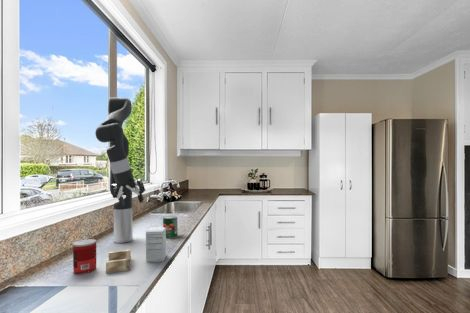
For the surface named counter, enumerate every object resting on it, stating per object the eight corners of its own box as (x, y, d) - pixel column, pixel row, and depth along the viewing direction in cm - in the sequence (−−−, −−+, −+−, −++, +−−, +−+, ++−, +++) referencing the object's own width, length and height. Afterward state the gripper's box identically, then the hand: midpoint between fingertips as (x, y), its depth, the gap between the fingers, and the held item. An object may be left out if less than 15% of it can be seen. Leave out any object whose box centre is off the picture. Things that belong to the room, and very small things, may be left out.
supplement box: (149, 256, 122) (149, 227, 122) (166, 255, 123) (166, 226, 123) (145, 262, 115) (145, 231, 115) (163, 261, 116) (163, 231, 116)
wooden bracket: (105, 273, 104) (105, 262, 104) (109, 261, 116) (109, 252, 116) (130, 269, 107) (129, 259, 107) (130, 258, 119) (130, 249, 119)
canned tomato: (163, 239, 149) (162, 218, 149) (163, 235, 156) (162, 215, 156) (178, 237, 151) (177, 217, 151) (177, 234, 158) (177, 214, 158)
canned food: (100, 267, 110) (100, 239, 110) (84, 275, 103) (83, 245, 103) (86, 265, 113) (85, 238, 113) (68, 273, 105) (68, 244, 105)
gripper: (140, 164, 122) (150, 197, 126) (110, 169, 124) (121, 202, 128) (133, 169, 115) (144, 204, 119) (101, 175, 117) (113, 209, 121)
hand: (132, 203), depth 124 cm, fingers open, 8 cm apart
